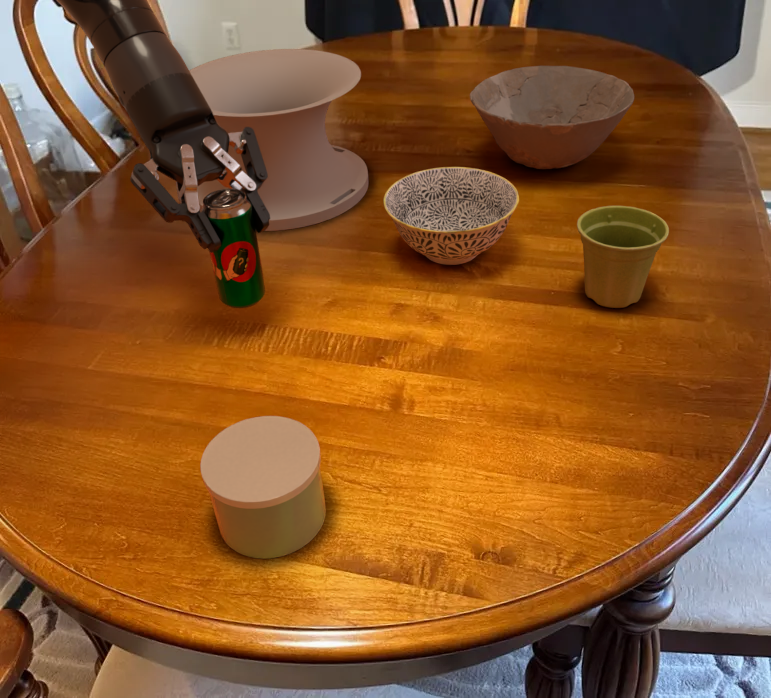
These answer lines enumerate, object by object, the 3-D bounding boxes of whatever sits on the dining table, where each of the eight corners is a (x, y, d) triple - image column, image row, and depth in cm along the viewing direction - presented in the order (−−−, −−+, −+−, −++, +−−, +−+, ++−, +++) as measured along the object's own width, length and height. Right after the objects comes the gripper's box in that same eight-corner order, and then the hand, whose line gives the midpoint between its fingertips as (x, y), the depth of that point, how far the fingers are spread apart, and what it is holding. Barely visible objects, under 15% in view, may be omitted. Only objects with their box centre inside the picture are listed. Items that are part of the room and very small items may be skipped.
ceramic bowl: (647, 143, 121) (657, 77, 115) (588, 207, 106) (596, 136, 100) (514, 117, 131) (517, 56, 125) (443, 173, 116) (442, 106, 110)
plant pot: (571, 268, 95) (578, 202, 89) (654, 274, 93) (666, 207, 87) (567, 313, 88) (575, 245, 82) (657, 321, 86) (671, 251, 80)
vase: (165, 224, 108) (137, 112, 99) (232, 147, 127) (214, 47, 118) (342, 237, 103) (331, 120, 94) (385, 154, 122) (380, 50, 113)
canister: (222, 573, 63) (206, 514, 58) (210, 487, 70) (195, 430, 66) (339, 544, 64) (331, 484, 60) (316, 463, 72) (307, 405, 67)
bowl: (488, 298, 91) (489, 240, 86) (364, 270, 97) (359, 214, 92) (533, 232, 102) (537, 178, 97) (419, 210, 108) (418, 158, 103)
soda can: (275, 292, 87) (260, 192, 80) (246, 316, 84) (228, 214, 77) (239, 280, 90) (221, 182, 82) (210, 303, 86) (188, 203, 79)
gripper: (96, 91, 74) (186, 252, 74) (229, 54, 81) (311, 200, 81) (87, 130, 81) (170, 278, 80) (211, 92, 88) (287, 228, 88)
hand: (240, 238), depth 81 cm, fingers closed on soda can, 5 cm apart
